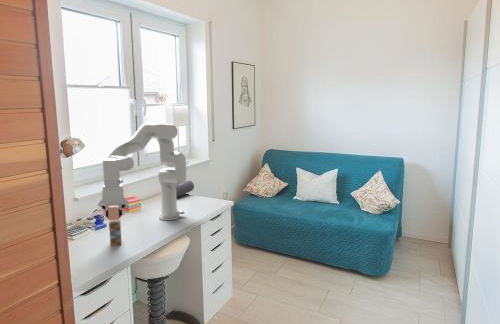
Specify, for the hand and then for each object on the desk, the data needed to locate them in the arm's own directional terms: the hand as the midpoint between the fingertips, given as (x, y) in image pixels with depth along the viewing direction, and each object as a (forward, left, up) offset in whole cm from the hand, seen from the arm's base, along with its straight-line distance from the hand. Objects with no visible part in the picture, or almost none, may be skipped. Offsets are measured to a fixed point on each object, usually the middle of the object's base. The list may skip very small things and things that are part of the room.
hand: (114, 217), depth 186 cm
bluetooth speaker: (-40, -85, -15) cm, 95 cm away
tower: (0, 0, -15) cm, 15 cm away
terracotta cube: (0, 0, -1) cm, 1 cm away
